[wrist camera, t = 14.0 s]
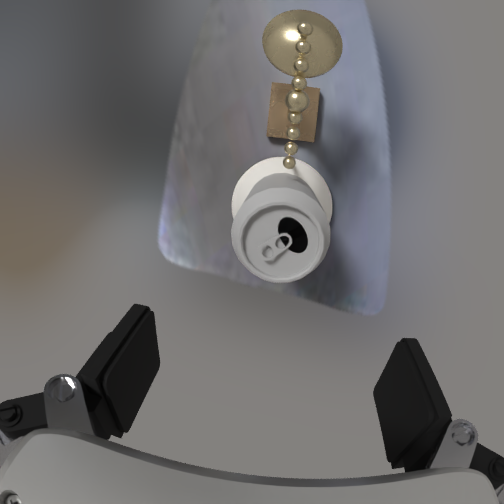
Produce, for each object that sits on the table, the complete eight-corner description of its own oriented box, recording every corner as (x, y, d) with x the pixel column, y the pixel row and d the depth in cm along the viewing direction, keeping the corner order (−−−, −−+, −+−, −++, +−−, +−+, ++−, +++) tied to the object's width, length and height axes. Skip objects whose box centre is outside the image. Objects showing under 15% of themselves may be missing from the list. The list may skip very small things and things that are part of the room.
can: (328, 219, 31) (351, 264, 20) (269, 250, 33) (261, 307, 22) (294, 158, 29) (302, 170, 18) (234, 193, 31) (206, 225, 20)
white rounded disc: (237, 151, 31) (236, 152, 30) (337, 164, 30) (339, 165, 29) (230, 244, 35) (228, 248, 34) (321, 256, 34) (322, 260, 33)
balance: (271, 43, 25) (262, -13, 13) (326, 50, 25) (352, -1, 13) (260, 158, 31) (242, 173, 18) (314, 165, 30) (335, 185, 18)
